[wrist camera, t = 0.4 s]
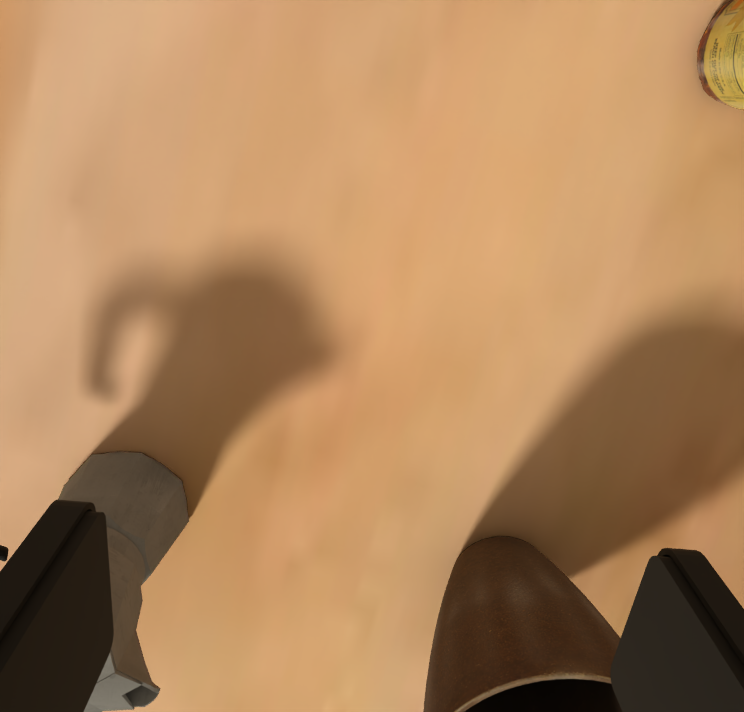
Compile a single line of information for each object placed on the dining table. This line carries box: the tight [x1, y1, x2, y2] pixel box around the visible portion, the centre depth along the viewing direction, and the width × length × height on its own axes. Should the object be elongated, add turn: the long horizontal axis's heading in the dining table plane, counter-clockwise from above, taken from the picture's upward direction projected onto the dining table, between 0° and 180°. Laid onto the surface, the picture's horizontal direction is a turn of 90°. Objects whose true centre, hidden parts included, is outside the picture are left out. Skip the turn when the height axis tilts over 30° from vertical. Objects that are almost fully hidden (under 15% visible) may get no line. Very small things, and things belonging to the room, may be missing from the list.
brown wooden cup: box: [424, 536, 622, 712], centre depth 42 cm, size 15×15×16 cm
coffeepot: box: [0, 451, 189, 712], centre depth 38 cm, size 15×9×18 cm, turn 69°
